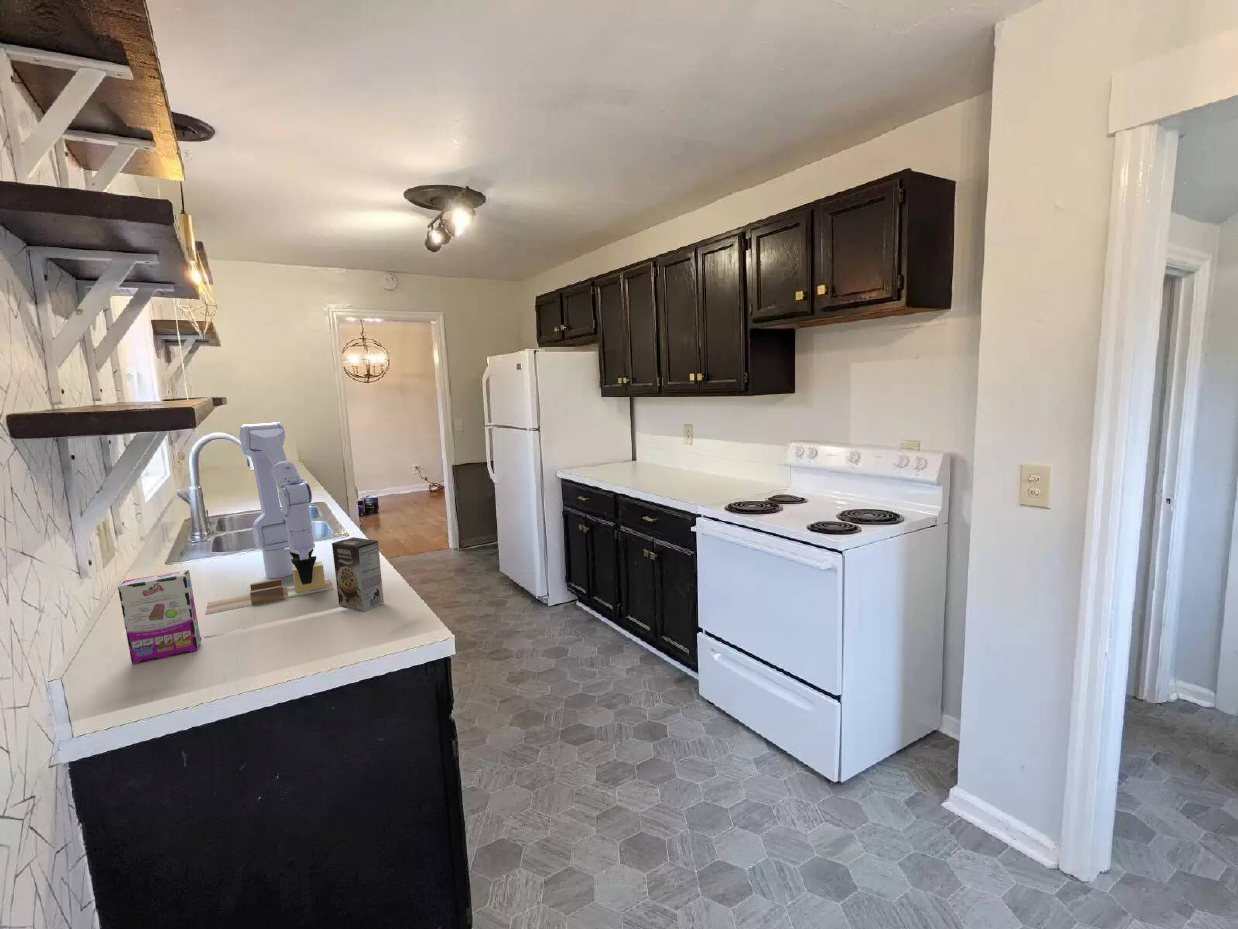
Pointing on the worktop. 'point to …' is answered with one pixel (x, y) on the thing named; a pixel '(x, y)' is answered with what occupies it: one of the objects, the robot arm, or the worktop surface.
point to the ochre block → (317, 578)
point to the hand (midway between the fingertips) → (305, 579)
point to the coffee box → (358, 573)
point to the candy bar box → (159, 616)
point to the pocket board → (262, 595)
